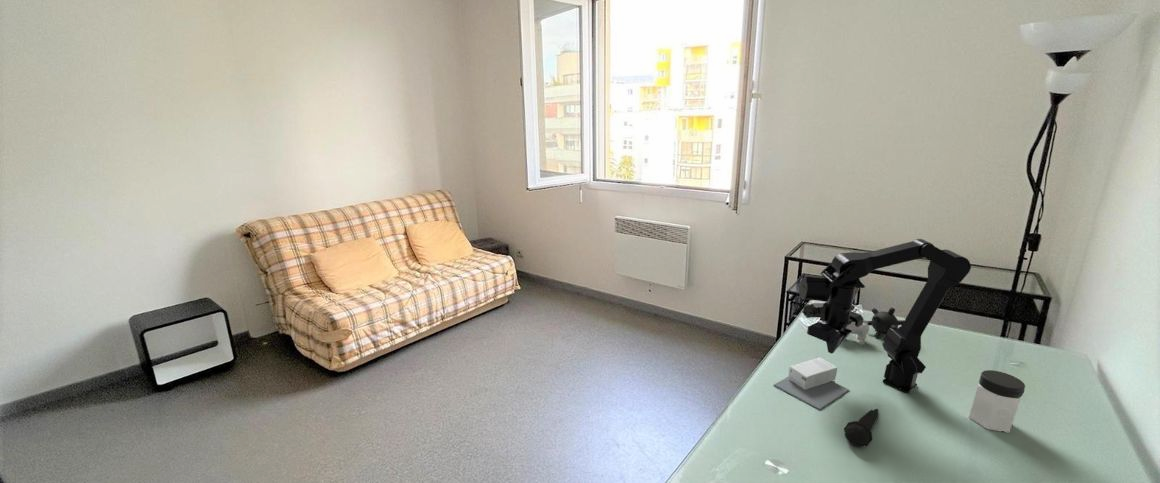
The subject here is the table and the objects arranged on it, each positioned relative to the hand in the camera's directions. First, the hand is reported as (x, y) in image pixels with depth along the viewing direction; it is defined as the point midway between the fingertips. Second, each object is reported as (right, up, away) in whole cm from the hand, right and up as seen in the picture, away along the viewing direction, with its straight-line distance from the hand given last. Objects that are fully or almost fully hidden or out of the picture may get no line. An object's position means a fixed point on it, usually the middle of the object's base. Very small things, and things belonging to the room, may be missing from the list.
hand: (830, 352), depth 133 cm
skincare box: (+1, -5, +3) cm, 6 cm away
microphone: (-1, -15, -18) cm, 23 cm away
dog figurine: (+18, -2, +26) cm, 32 cm away
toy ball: (+32, -1, +28) cm, 43 cm away
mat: (-6, -9, -2) cm, 11 cm away
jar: (+32, -14, -14) cm, 38 cm away
